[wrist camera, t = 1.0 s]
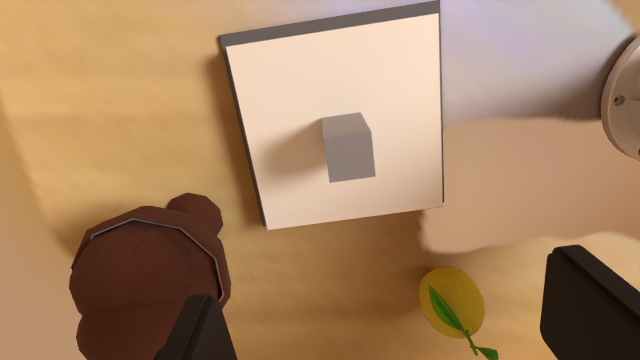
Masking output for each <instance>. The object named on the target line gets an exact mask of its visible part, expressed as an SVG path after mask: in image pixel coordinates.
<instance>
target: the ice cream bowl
mask: <svg viewBox="0 0 640 360" xmlns="http://www.w3.org/2000/svg"><path fill="white" fill-rule="evenodd" d="M222 226H223V222H222V217H221V212H220V209H219V208H218V207H217V206H216V205H215V204H214V203H213V202H212V201H211V200H210V199H208V198H207V197H206V196H201V195H197V194H192V193H185V194H183V195H181V196H178V197H176V198H173V199H171V201H170V203H169V205H168V207H167V209H164V208H159V207H154V206H141V207H139V208H137V209H134V210H132V211H129V212H127V213H124V214H122V215H120V216H117V217H115V218H112V219H110V220H107V221H105V222H102V223H100V224H98V225H96V226H94V227H92V228H90V229H88V230H87V231H86V233H85V235H84V238H83V240H82V242H81V245H80V247H79V250H78V252H77V254H76V257H75V259H74V261H73V264H72V267H71V268H72V271H73V272H72V274H71V276H70V283H69V289H70V291H71V294H72V298H73V299H74V302H75V304H76V307H77V310H78V311H79V313H81V315H82V318H81V320H80V323H79V326H78V330H77V336H76V339H77V343H78V347H79V350H80V352H81V353H82V354H83V355H84V356H85V358H86V359H87V360H153V358H154V356H155V355H156V353H157V352H158V350H159V349H160V348H162V347H164V345H165V343H166V341H167V339H168V336H169V334H170V332H171V330H172V328H173V326H174V324H175V322H176V320H177V318H178V316H179V314H180V312H181V309H182V307H183V305H184V303H185V301H186V299H187V297H188V296H189V295H194V294H202V293H210V294H211V295H212V297H217V298H218V300H219V302H220V306H221V309H223V307H224V306H225V304H226V302H227V301H228V299H229V298H230V292H231V281H230V277H229V272H228V267H227V262H226V258H225V253H224V248H223V245H222V242H221V240H220V239H219V238H218V237H217V235H218V233H219V232H220V230H221V228H222Z"/></svg>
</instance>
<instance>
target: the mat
mask: <svg viewBox="0 0 640 360" xmlns="http://www.w3.org/2000/svg"><path fill="white" fill-rule="evenodd" d="M437 13H438V15H439V61H440V106H441V151H442V197H443V202H444V176H443V126H442V77H441V28H440V0H437V1H430V2H424V3H418V4H412V5H405V6H399V7H393V8H387V9H380V10H374V11H368V12H362V13H355V14H349V15H343V16H336V17H330V18H324V19H318V20H311V21H305V22H299V23H293V24H286V25H280V26H274V27H268V28H261V29H255V30H249V31H243V32H236V33H230V34H224V35H219V37H220V41H221V45H222V49H223V54H224V58H225V62H226V67H227V71H228V75H229V80H230V84H231V88H232V92H233V97H234V101H235V105H236V110H237V114H238V118H239V123H240V127H241V131H242V135H243V140H244V144H245V148H246V153H247V157H248V161H249V166H250V170H251V174H252V178H253V183H254V187H255V191H256V196H257V200H258V204H259V209H260V213H261V217H262V221H263V226H267V225H266V220H265V216H264V212H263V207H262V203H261V198H260V194H259V190H258V185H257V181H256V177H255V172H254V168H253V163H252V159H251V155H250V150H249V146H248V142H247V137H246V133H245V128H244V124H243V120H242V115H241V111H240V107H239V102H238V98H237V94H236V89H235V85H234V80H233V76H232V72H231V67H230V63H229V59H228V54H227V50H226V47H228V46H234V45H240V44H247V43H253V42H259V41H266V40H272V39H278V38H285V37H291V36H297V35H304V34H310V33H316V32H323V31H329V30H335V29H342V28H348V27H354V26H361V25H367V24H373V23H380V22H386V21H392V20H399V19H405V18H411V17H418V16H424V15H430V14H437Z"/></svg>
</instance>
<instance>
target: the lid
mask: <svg viewBox="0 0 640 360" xmlns="http://www.w3.org/2000/svg"><path fill="white" fill-rule="evenodd" d="M226 50H227V54H228V59H229V63H230V67H231V72H232V76H233V80H234V85H235V89H236V94H237V98H238V102H239V107H240V111H241V115H242V120H243V124H244V128H245V133H246V137H247V142H248V146H249V150H250V155H251V159H252V163H253V168H254V172H255V177H256V181H257V185H258V190H259V194H260V198H261V203H262V207H263V212H264V216H265V220H266V225H267V229H268V230H272V229H279V228H287V227H294V226H302V225H310V224H317V223H325V222H332V221H340V220H347V219H355V218H362V217H370V216H378V215H385V214H393V213H400V212H408V211H415V210H423V209H430V208H438V207H443V197H442V151H441V106H440V61H439V15H438V13H437V14H430V15H424V16H418V17H411V18H405V19H399V20H392V21H386V22H380V23H373V24H367V25H361V26H354V27H348V28H342V29H335V30H329V31H323V32H316V33H310V34H304V35H297V36H291V37H285V38H278V39H272V40H266V41H259V42H253V43H247V44H240V45H234V46H228V47H226Z"/></svg>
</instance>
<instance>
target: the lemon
mask: <svg viewBox="0 0 640 360" xmlns="http://www.w3.org/2000/svg"><path fill="white" fill-rule="evenodd" d="M418 298H419V302H420V306H421V309H422V311H423V313H424V315H425V316H426V318H427V319H428V321H429V322H430V323H431V325H432V326H433V327H434V328H435V329H437V330H438V331H439V332H441V333H443V334H444V335H446V336H449V337H453V338H460V339H462V338H466V337H467V339H468V341H469V343H470V345H471V348H472V349H473V351H474V353H475V356H477V355H478V353H477V351H476V349H478V350H479V351H480V352H481V353H482V354H483V355H484V356H485V357H486V358H487V359H489V360H498V353H497V351H496V350H493V349H489V348H479V347H476V346H474V344H473V342H472V340H471V338H470V336H471V335H473V334H475V333H476V332H477V331H478V330H479V328H480V327H481V325H482V323H483V319H484V316H485V308H484V301H483V297H482V295H481V293H480V291H479V289H478V287H477V285H476V284H475V282H474V281H473V279H472V278H471V277H469V276H468V275H467V274H466V273H464V272H463V271H462V270H459V269H456V268H453V267H441V268H436V269H434V270H432V271H430V272H429V273H427V274H426V275H425V276H424V277H423V279H422V280H421V282H420V285H419V290H418Z"/></svg>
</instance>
